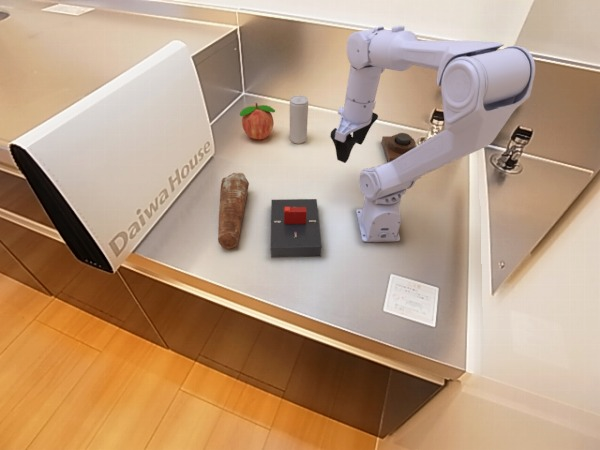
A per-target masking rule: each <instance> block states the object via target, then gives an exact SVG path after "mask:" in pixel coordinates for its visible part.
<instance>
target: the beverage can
mask: <svg viewBox="0 0 600 450" xmlns="http://www.w3.org/2000/svg"><path fill="white" fill-rule="evenodd" d="M308 118H309V99H308V97H307V96H304V95H299V94H298V95H292V96H291V97H290V99H289V140H290V141H291V142H292V143H294V144H304V143H305V142H307V139H308Z"/></svg>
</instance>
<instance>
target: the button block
mask: <svg viewBox="0 0 600 450" xmlns="http://www.w3.org/2000/svg"><path fill="white" fill-rule="evenodd" d="M397 134H398V133H396V134H393V135H390V136H385V135H383V136H381V143H380V144H381V147H382V151H383V153H384V155H385V156H384V157H385V159H386V163H389V162H391V161H393V160H395V159H396V158H398V157H400V156H401V155H403V154H405V153H406V152H408V151H410V150H412V149H413V148H415V147H417V145H416V141H415V139H414V138H413V137H412V136H411V135H410V137H411V138H410V142H409V145H407V146H402V145H399V144H397V143H396V142H395V140H396V136H397Z"/></svg>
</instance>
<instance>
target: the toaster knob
mask: <svg viewBox="0 0 600 450" xmlns="http://www.w3.org/2000/svg"><path fill="white" fill-rule="evenodd" d="M284 224H306V207H284Z"/></svg>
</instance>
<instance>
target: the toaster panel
mask: <svg viewBox="0 0 600 450" xmlns="http://www.w3.org/2000/svg"><path fill="white" fill-rule="evenodd" d="M270 204H271V206H270V208H271V209H270V258H304V257H305V258H308V257H309V258H311V257H312V258H313V257H314V258H315V257H322V248H323V247H322V238H321V237H322V236H321V229H320V220H319V208H318V199H317V198H296V199H295V198H291V199H282V198H281V199H280V198H279V199H271V203H270ZM284 207H306V224H284Z"/></svg>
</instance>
